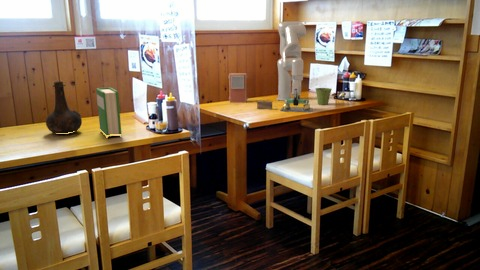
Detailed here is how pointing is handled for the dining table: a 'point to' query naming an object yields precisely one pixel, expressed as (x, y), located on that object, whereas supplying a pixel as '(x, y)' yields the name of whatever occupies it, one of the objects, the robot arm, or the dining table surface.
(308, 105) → the chassis
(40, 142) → the dining table surface
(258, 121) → the dining table surface
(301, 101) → the circuit board
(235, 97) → the control panel
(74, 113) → the glass bottle
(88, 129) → the dining table surface
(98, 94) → the hardback book
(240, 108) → the dining table surface
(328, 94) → the plant pot
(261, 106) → the walnut stand
